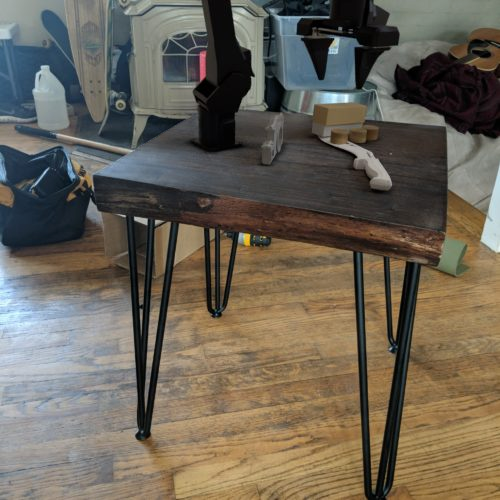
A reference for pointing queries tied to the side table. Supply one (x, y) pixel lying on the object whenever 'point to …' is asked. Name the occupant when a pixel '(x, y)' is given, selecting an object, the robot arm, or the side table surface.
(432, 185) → the side table surface
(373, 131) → the crumb
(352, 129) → the short tan cylinder
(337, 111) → the oblong tan box
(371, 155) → the knife
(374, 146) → the side table surface
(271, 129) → the garden wall model
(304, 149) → the side table surface
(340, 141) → the tan squat cylinder
